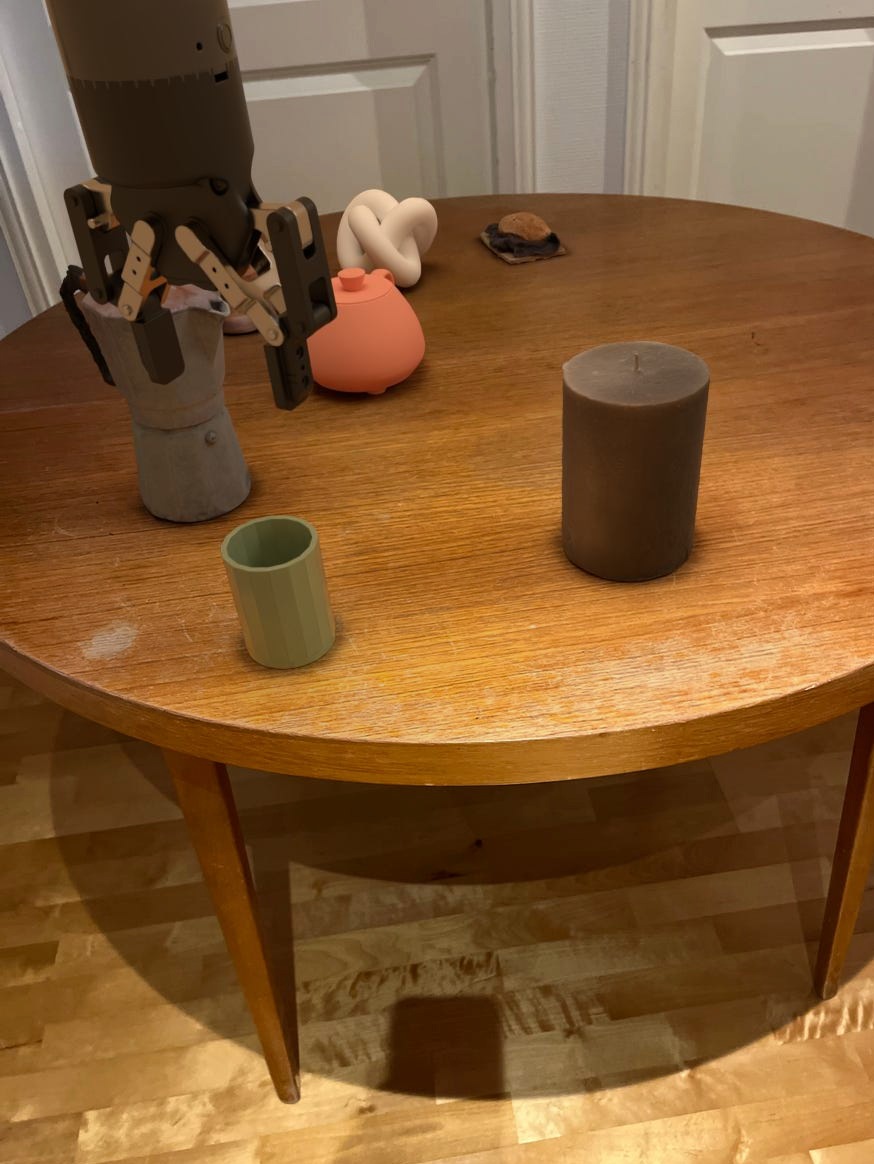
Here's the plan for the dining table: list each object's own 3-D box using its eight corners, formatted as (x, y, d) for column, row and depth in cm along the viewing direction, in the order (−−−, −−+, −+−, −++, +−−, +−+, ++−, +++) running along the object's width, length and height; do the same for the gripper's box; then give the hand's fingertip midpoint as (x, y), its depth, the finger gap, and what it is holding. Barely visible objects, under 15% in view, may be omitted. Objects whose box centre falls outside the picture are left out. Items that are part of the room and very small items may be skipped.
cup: (229, 654, 65) (200, 557, 60) (280, 602, 69) (258, 507, 64) (304, 679, 63) (281, 580, 58) (352, 623, 67) (335, 526, 62)
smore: (475, 239, 124) (473, 209, 122) (536, 228, 126) (536, 198, 124) (506, 266, 116) (504, 234, 114) (570, 254, 118) (570, 222, 116)
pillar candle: (691, 587, 68) (715, 389, 58) (552, 577, 70) (552, 383, 60) (693, 510, 75) (714, 322, 66) (567, 503, 77) (569, 318, 67)
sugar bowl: (278, 395, 94) (258, 289, 87) (346, 336, 103) (332, 236, 97) (394, 412, 90) (381, 303, 83) (453, 349, 99) (446, 247, 93)
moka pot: (244, 542, 75) (179, 283, 62) (80, 511, 80) (-13, 264, 67) (303, 478, 82) (255, 232, 69) (149, 453, 86) (77, 218, 73)
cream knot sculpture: (414, 251, 121) (407, 174, 116) (462, 280, 113) (458, 199, 108) (331, 273, 117) (319, 194, 111) (375, 304, 109) (365, 221, 104)
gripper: (-30, 66, 43) (85, 400, 54) (227, 80, 38) (299, 446, 49) (89, 34, 48) (173, 345, 59) (331, 42, 43) (375, 382, 54)
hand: (230, 391), depth 54 cm, fingers open, 8 cm apart
